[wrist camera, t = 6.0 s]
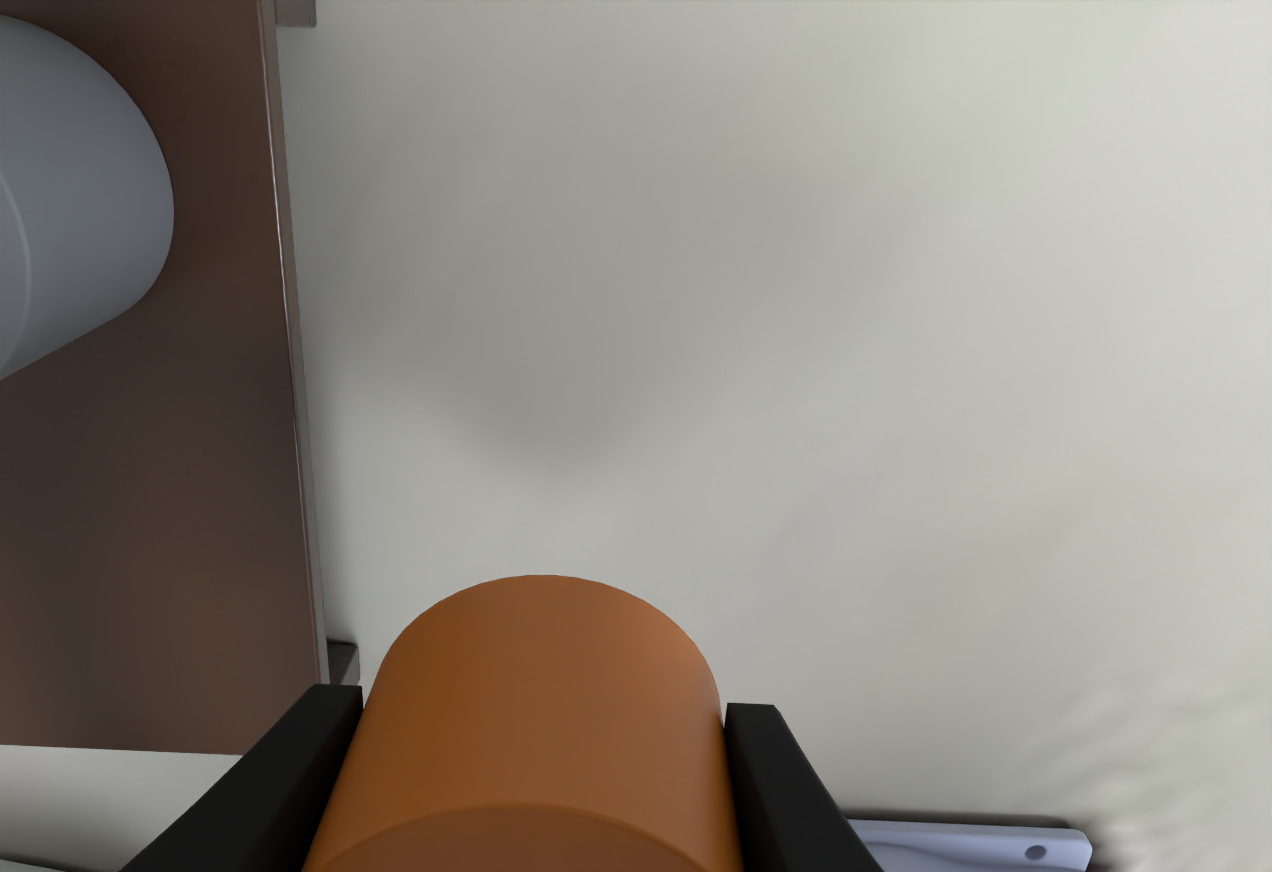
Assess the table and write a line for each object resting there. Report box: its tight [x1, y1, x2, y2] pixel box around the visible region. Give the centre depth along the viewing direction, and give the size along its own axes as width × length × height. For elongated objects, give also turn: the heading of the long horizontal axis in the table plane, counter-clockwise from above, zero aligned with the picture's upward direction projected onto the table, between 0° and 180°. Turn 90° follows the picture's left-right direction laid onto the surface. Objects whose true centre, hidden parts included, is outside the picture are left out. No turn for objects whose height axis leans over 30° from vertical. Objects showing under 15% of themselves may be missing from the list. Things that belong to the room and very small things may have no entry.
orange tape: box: [301, 575, 745, 872], centre depth 11 cm, size 5×5×4 cm
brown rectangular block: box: [0, 0, 360, 755], centre depth 17 cm, size 8×15×3 cm, turn 176°
